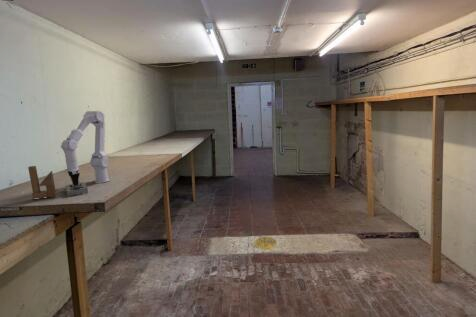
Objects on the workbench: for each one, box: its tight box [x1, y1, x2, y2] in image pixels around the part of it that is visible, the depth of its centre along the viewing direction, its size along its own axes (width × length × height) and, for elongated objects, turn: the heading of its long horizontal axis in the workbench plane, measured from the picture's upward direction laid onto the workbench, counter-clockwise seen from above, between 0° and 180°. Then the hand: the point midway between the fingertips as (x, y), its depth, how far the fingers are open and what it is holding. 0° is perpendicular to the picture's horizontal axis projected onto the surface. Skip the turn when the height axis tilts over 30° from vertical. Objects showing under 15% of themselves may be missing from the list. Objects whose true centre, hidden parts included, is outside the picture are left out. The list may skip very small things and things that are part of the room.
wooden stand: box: [27, 165, 57, 200], centre depth 181 cm, size 4×11×18 cm, turn 107°
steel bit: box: [70, 178, 81, 187], centre depth 193 cm, size 4×4×7 cm
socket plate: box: [65, 181, 89, 197], centre depth 191 cm, size 16×10×3 cm, turn 31°
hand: (75, 184), depth 193 cm, fingers open, 7 cm apart
